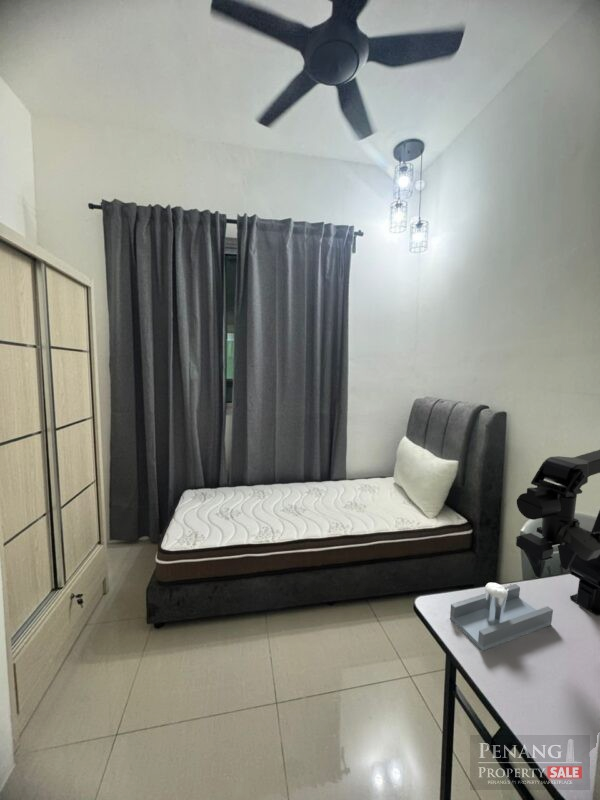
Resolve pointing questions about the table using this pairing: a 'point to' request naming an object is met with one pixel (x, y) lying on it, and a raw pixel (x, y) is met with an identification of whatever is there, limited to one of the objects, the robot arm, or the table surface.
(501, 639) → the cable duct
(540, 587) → the table surface
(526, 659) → the table surface
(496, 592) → the milkshake
